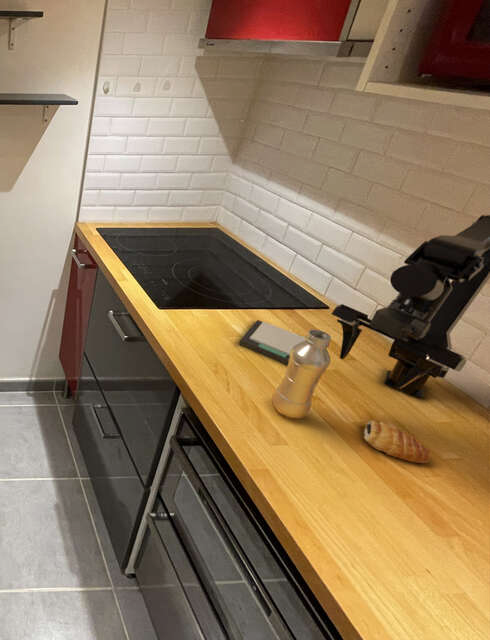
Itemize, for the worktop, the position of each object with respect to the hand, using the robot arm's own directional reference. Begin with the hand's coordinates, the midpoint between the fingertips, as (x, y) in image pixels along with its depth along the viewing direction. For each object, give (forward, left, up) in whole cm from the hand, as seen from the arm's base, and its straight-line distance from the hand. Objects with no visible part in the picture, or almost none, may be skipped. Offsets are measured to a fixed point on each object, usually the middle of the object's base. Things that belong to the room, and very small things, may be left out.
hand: (368, 372), depth 87 cm
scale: (-20, -17, -14) cm, 30 cm away
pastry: (0, +7, -14) cm, 16 cm away
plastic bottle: (+4, -9, -14) cm, 17 cm away
